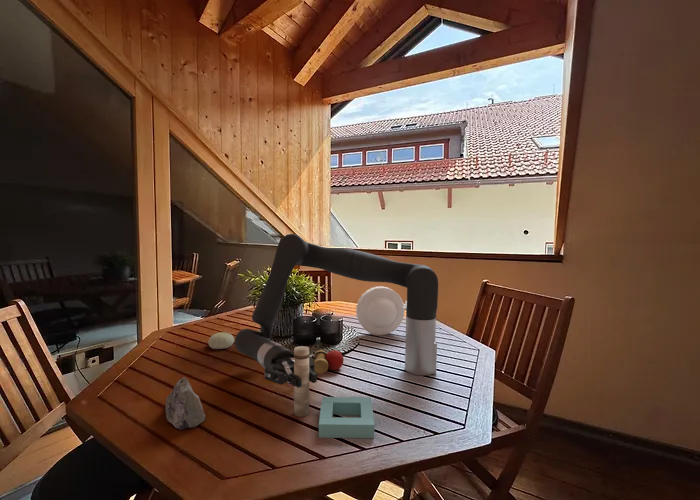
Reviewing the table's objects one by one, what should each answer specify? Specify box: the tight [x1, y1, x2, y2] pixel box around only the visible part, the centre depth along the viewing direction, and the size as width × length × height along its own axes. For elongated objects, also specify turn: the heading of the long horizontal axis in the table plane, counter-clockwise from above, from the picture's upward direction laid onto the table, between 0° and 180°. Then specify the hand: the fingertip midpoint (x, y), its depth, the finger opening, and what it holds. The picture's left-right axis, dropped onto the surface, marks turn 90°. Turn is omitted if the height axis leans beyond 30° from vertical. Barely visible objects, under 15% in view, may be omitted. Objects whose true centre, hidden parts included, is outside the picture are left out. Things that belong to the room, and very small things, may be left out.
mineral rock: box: [164, 376, 206, 431], centre depth 85 cm, size 13×11×10 cm
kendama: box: [312, 349, 344, 374], centre depth 112 cm, size 8×6×18 cm
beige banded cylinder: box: [293, 345, 310, 417], centre depth 86 cm, size 4×4×16 cm
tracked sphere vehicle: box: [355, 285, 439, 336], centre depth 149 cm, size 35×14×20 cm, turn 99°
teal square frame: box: [318, 396, 375, 439], centre depth 83 cm, size 12×12×3 cm
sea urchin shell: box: [207, 331, 235, 350], centre depth 132 cm, size 9×8×8 cm
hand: (307, 381), depth 84 cm, fingers closed on beige banded cylinder, 3 cm apart
